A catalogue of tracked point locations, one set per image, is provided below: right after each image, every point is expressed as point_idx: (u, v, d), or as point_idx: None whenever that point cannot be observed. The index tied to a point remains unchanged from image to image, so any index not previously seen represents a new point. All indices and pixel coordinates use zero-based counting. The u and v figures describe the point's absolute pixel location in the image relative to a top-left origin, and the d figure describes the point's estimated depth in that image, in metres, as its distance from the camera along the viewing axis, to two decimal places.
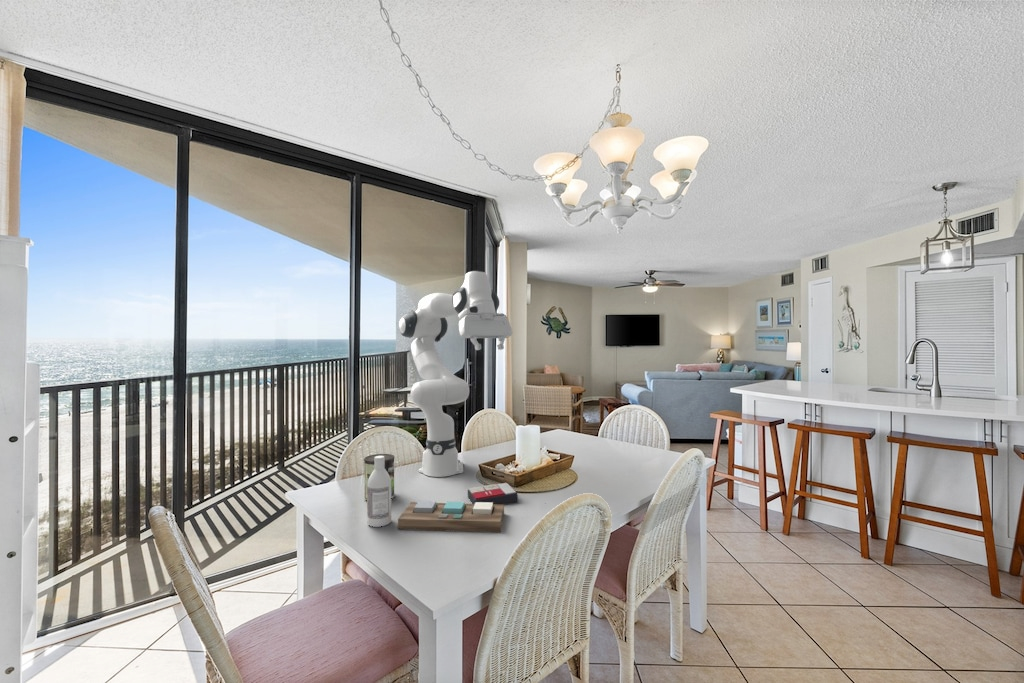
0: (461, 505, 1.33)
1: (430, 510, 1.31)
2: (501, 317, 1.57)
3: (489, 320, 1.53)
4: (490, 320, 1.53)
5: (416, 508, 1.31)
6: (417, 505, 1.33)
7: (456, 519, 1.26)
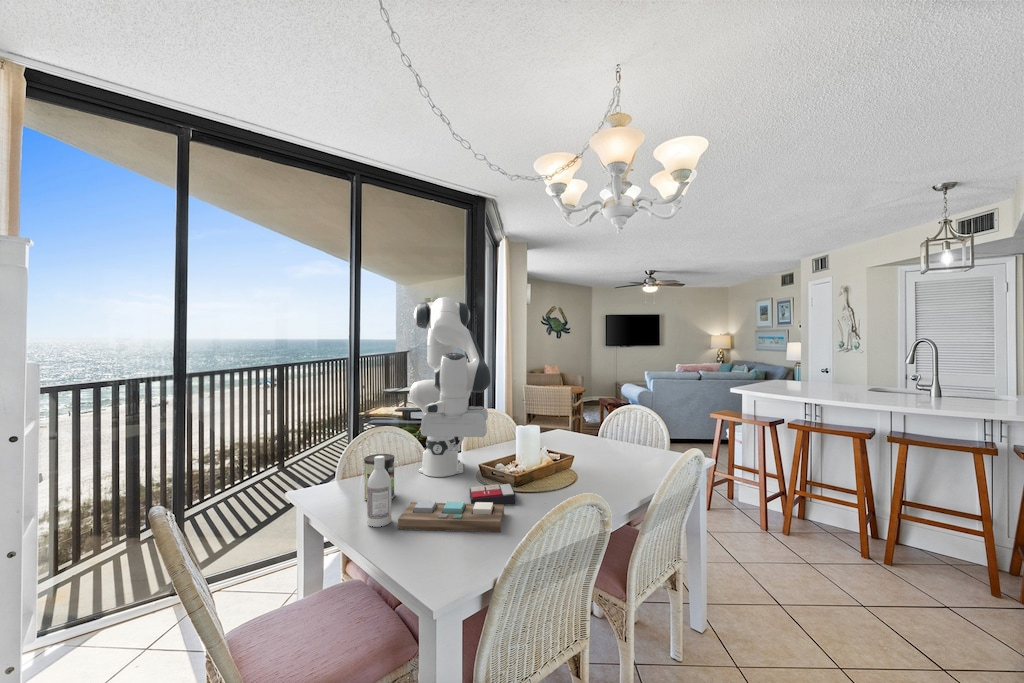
0: (461, 505, 1.33)
1: (430, 510, 1.31)
2: (473, 414, 1.31)
3: (455, 418, 1.32)
4: (457, 418, 1.32)
5: (416, 508, 1.31)
6: (417, 505, 1.33)
7: (456, 519, 1.26)
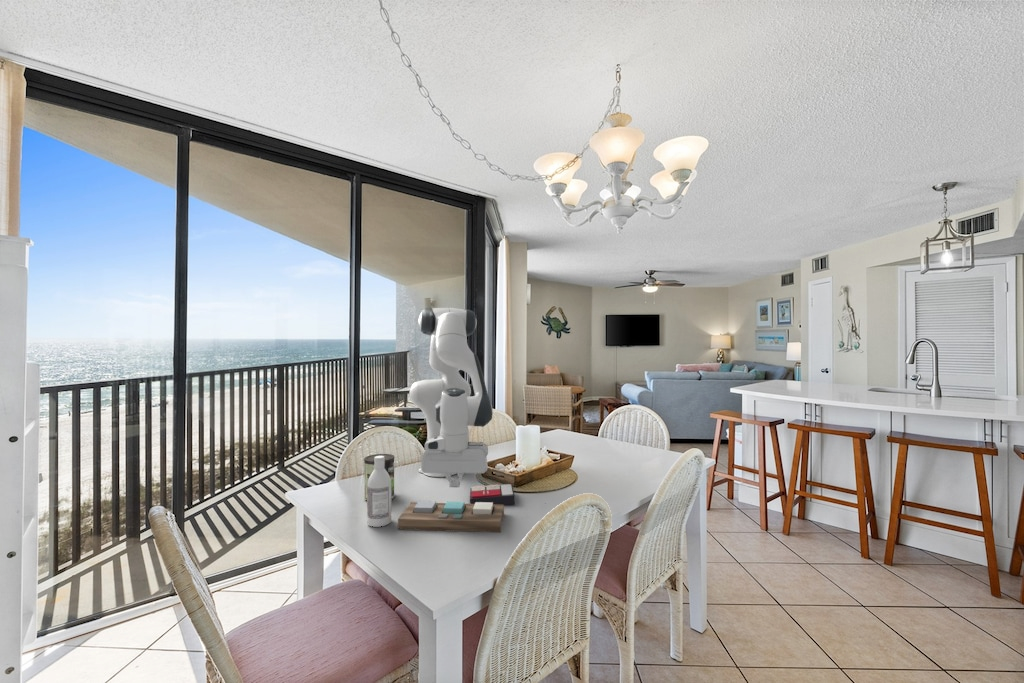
0: (461, 505, 1.33)
1: (430, 510, 1.31)
2: (474, 450, 1.31)
3: (456, 455, 1.31)
4: (457, 455, 1.31)
5: (416, 508, 1.31)
6: (417, 505, 1.33)
7: (456, 519, 1.26)
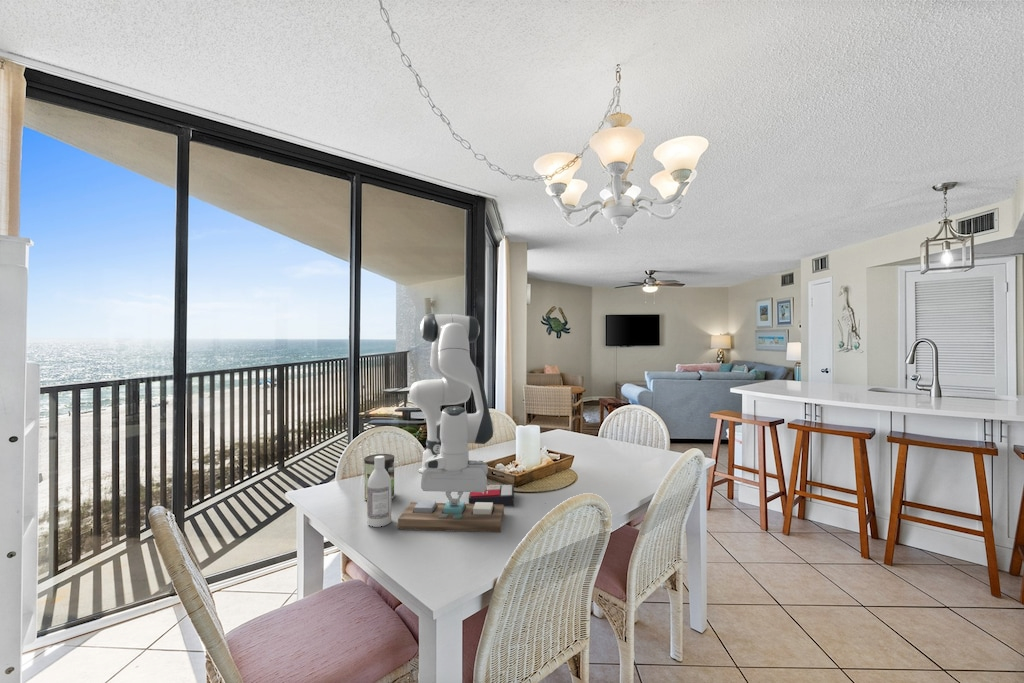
0: (461, 505, 1.33)
1: (430, 510, 1.31)
2: (474, 469, 1.31)
3: (456, 473, 1.31)
4: (457, 473, 1.31)
5: (416, 508, 1.31)
6: (417, 505, 1.33)
7: (456, 519, 1.26)
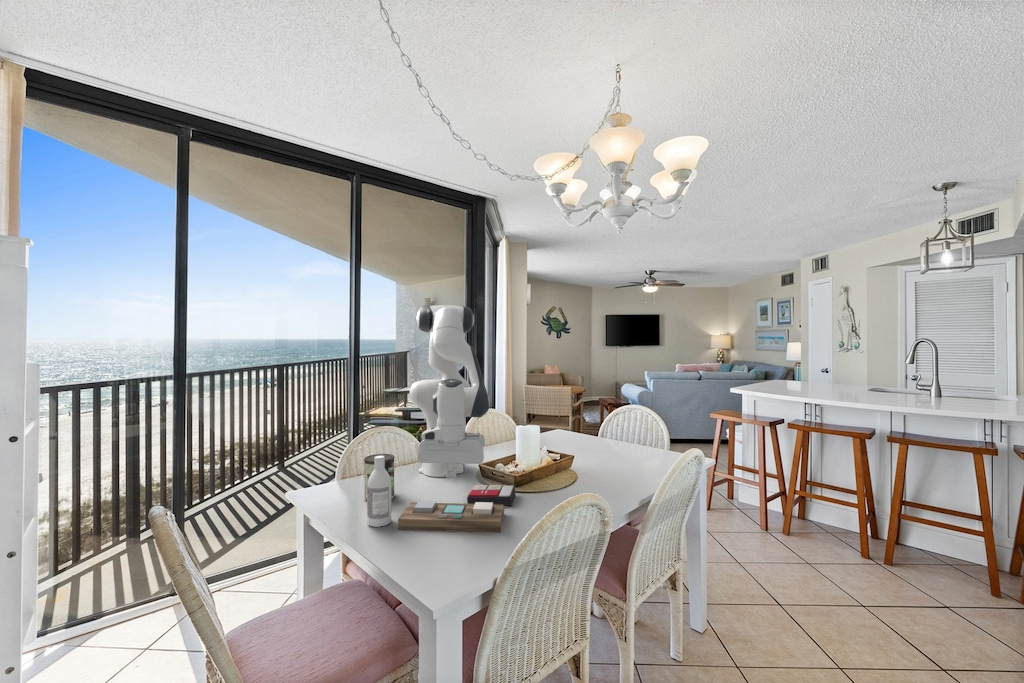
0: (461, 509, 1.33)
1: (430, 510, 1.31)
2: (470, 441, 1.31)
3: (452, 445, 1.32)
4: (454, 445, 1.32)
5: (416, 508, 1.31)
6: (417, 505, 1.33)
7: (456, 519, 1.26)
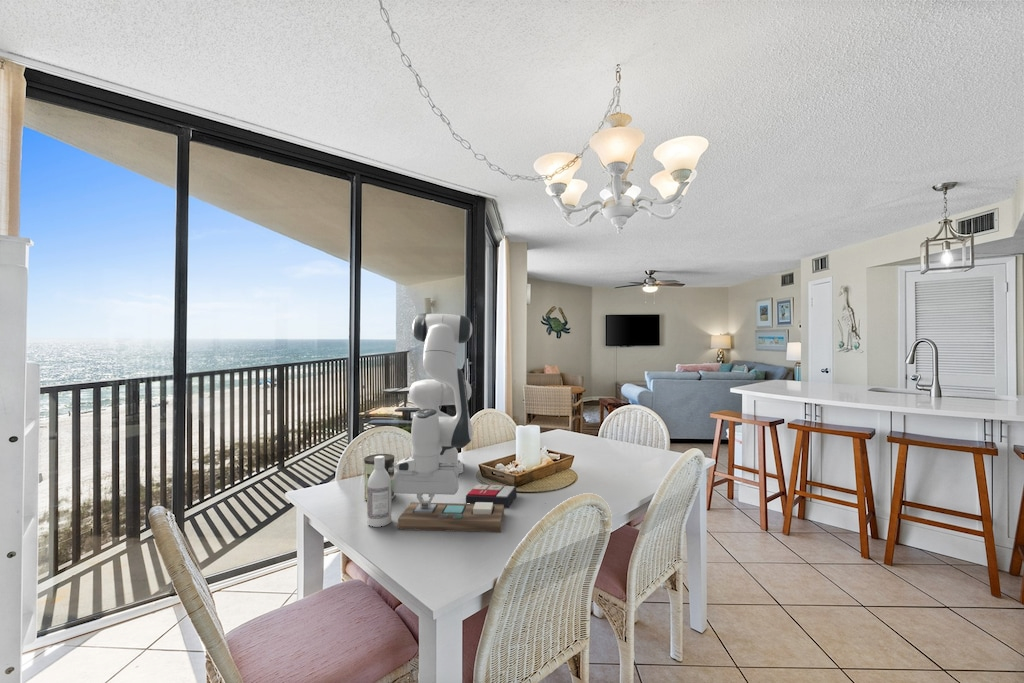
0: (461, 509, 1.33)
1: None
2: (444, 472, 1.32)
3: (426, 476, 1.32)
4: (428, 476, 1.32)
5: (416, 511, 1.31)
6: (417, 508, 1.33)
7: (456, 519, 1.26)
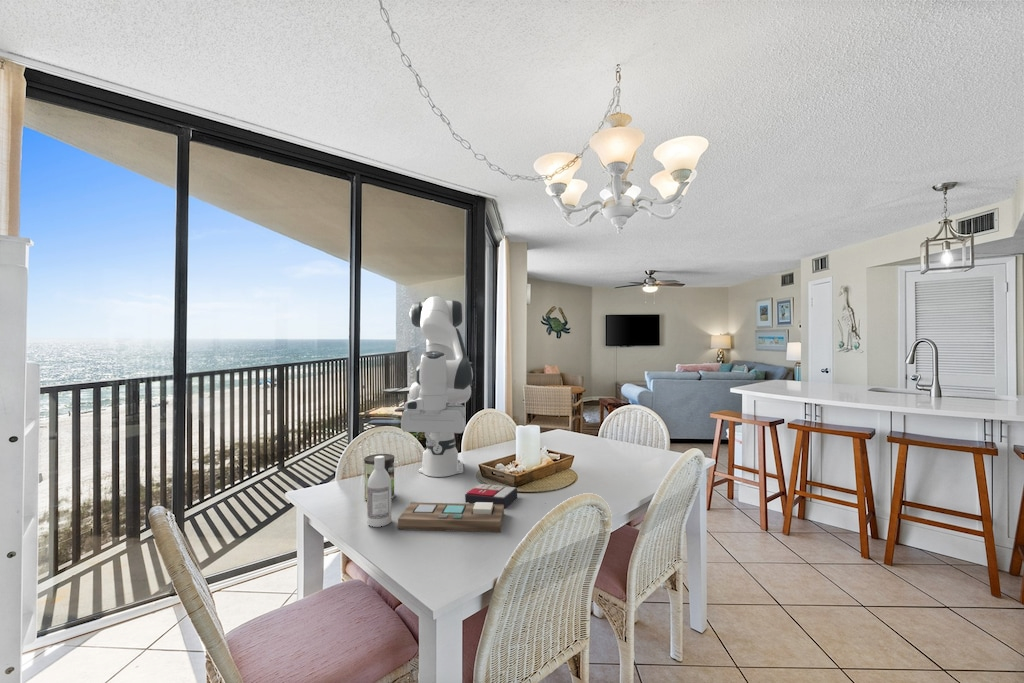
0: (461, 509, 1.33)
1: None
2: (452, 411, 1.35)
3: (434, 415, 1.36)
4: (435, 415, 1.36)
5: (416, 512, 1.31)
6: (417, 509, 1.33)
7: (456, 519, 1.26)
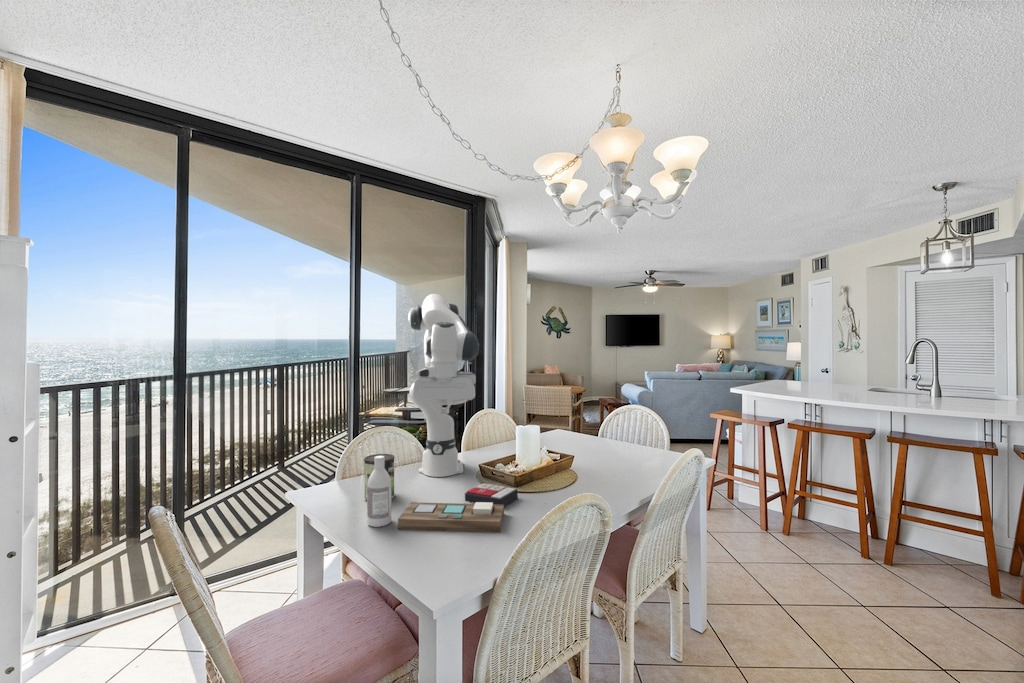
0: (461, 509, 1.33)
1: None
2: (462, 378, 1.41)
3: (445, 382, 1.41)
4: (447, 382, 1.41)
5: (416, 512, 1.31)
6: (417, 509, 1.33)
7: (456, 519, 1.26)
